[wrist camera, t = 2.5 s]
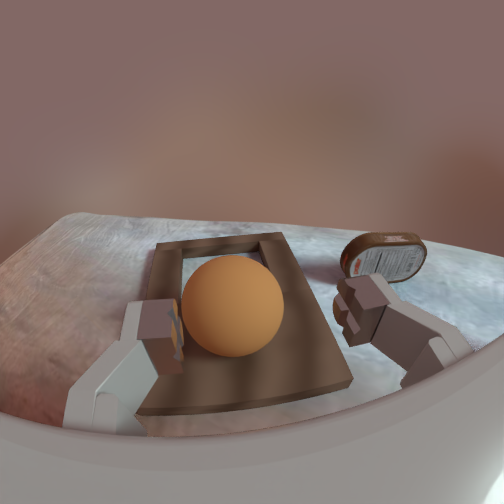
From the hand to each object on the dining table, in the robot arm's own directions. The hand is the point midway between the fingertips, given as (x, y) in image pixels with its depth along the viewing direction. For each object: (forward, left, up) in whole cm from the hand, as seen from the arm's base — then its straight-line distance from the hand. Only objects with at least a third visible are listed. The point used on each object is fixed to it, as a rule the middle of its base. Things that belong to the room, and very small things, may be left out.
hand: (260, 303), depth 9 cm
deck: (0, +19, -20) cm, 28 cm away
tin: (+24, +21, -20) cm, 38 cm away
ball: (0, +13, -13) cm, 18 cm away
